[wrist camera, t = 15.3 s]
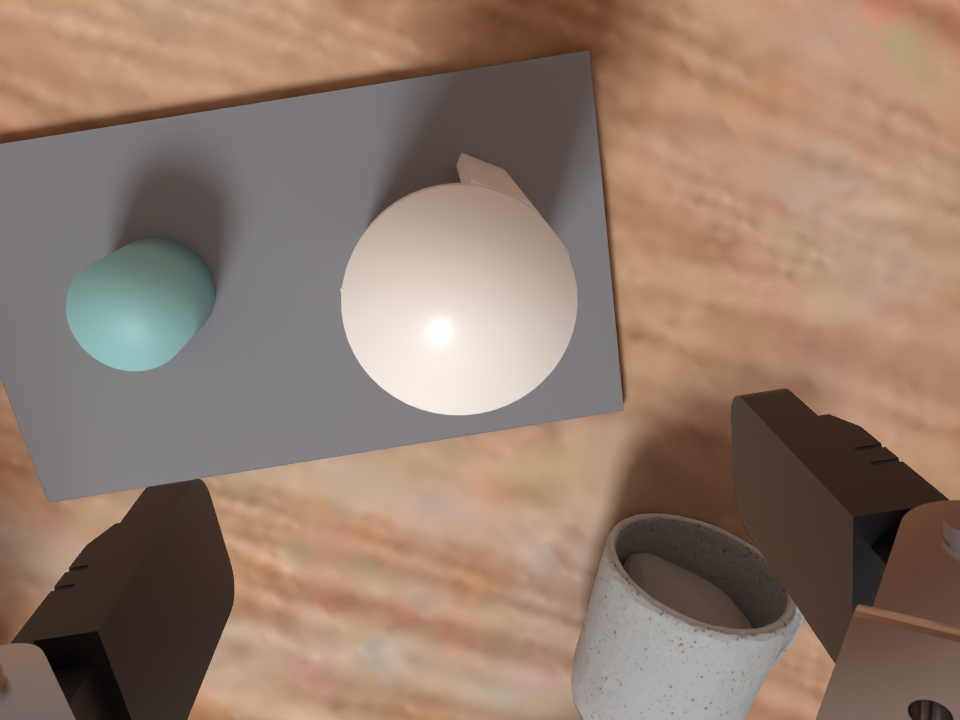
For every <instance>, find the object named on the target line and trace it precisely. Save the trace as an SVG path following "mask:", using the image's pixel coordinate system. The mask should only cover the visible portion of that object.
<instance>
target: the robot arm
mask: <svg viewBox="0 0 960 720" xmlns="http://www.w3.org/2000/svg"><path fill="white" fill-rule="evenodd" d="M731 421H732V442H733V463H734V484H735V496H736V502H737V507H738V511H739V514H740V517H741V520H742V523H743V525H744V527H745V530H746V531H747V533H748V534H749V536H750V537H751V539H752V540H753V542H754V543H755V545H756V546H757V548H758V549H759V551H760V552H761V554H762V555H763V557H764V558H765V560H766V561H767V563H768V564H769V566H770V567H771V569H772V570H773V572H774V573H775V575H776V576H777V578H778V579H779V581H780V582H781V584H782V585H783V586H784V588H785V589H786V591H787V592H788V594H789V595H790V597H791V598H792V600H793V601H794V603H795V604H796V606H797V607H798V609H799V610H800V612H801V613H802V615H803V616H804V618H805V619H806V621H807V622H808V624H809V625H810V627H811V628H812V630H813V631H814V633H815V634H816V636H817V637H818V639H819V640H820V642H821V643H822V645H823V646H824V647H825V649H826V650H827V652H828V653H829V655H830V656H831V658H832V659H833V661H834V662H835V667H834V670H833V672H832V675H831V678H830V681H829V684H828V686H827V689H826V692H825V695H824V698H823V700H822V703H821V706H820V709H819V712H818V714H817V717H816V720H960V500H949V499H948V498H946V497H945V496H944V495H943V494H941V493H940V492H939V491H938V490H937V489H935V488H934V487H933V486H932V485H931V484H929V483H928V482H927V481H926V480H925V479H923V478H922V477H921V476H920V475H918V474H917V473H916V472H915V471H914V470H912V469H911V468H910V467H909V466H908V465H906V464H905V463H904V462H899V459H898V457H897V456H896V455H894V454H893V453H892V452H891V451H889V450H888V449H887V448H886V447H883V448H882V446H881V443H880V442H879V441H877V440H876V439H875V438H874V437H873V436H871V435H870V434H869V433H868V432H867V431H865V430H864V429H863V428H862V427H860V426H858V425H855V424H853V423H850V422H847V421H845V420H842V419H840V418H837V417H835V416H832V415H830V414H827V415H821V416H818V415H816V414H815V413H814V412H813V411H812V410H811V409H810V408H809V407H807V406H806V405H805V404H804V403H803V402H802V401H801V400H800V399H799V398H797V397H796V396H795V395H794V394H793V393H792V392H791V391H789V390H788V389H779V390H772V391H766V392H759V393H753V394H747V395H740V396H736V397H734V399H733V402H732V407H731ZM54 588H55V591H52V592H50V593H49V594H48V596H47V597H46V598H45V599H44V601H43V602H42V603H41V605H40V606H39V607H38V608H37V610H36V611H35V612H34V614H33V615H32V616H31V617H30V619H29V620H28V621H27V623H26V624H25V625H24V627H23V628H22V629H21V630H20V632H19V633H18V634H17V636H16V637H15V638H14V639H13V641H12V642H11V643H10V644H7V645H1V646H0V720H187V719H188V716H189V714H190V711H191V709H192V706H193V704H194V701H195V699H196V696H197V694H198V691H199V689H200V686H201V684H202V681H203V679H204V677H205V674H206V672H207V669H208V667H209V664H210V662H211V659H212V657H213V654H214V652H215V649H216V647H217V644H218V642H219V639H220V637H221V635H222V632H223V630H224V627H225V625H226V622H227V620H228V617H229V615H230V612H231V609H232V606H233V601H234V577H233V571H232V566H231V563H230V559H229V556H228V553H227V549H226V546H225V543H224V539H223V536H222V533H221V529H220V526H219V523H218V520H217V516H216V513H215V510H214V506H213V503H212V500H211V496H210V493H209V491H208V489H207V487H206V485H205V484H204V482H203V481H202V480H200V479H194V480H187V481H181V482H174V483H168V484H161V485H155V486H149V487H147V488H146V489H145V490H144V491H143V493H142V494H141V495H140V497H139V498H138V499H137V501H136V502H135V503H134V505H133V506H132V508H131V509H130V510H129V512H128V513H127V514H126V516H125V517H124V518H123V520H122V521H121V522H120V523H117V524H114V525H113V526H112V527H110V528H109V529H108V530H106V531H105V532H104V533H102V534H101V535H100V536H98V537H97V538H96V539H94V540H93V541H92V542H90V543H89V544H88V545H86V546H85V548H84V549H83V550H82V552H81V553H80V554H79V556H78V557H77V558H76V559H75V561H74V562H73V563H72V565H71V566H70V567H69V572H65V574H64V575H63V576H62V577H61V579H60V580H59V581H58V583H57V584H56V585H55V586H54Z"/></svg>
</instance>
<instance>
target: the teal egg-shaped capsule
mask: <svg viewBox="0 0 960 720" xmlns="http://www.w3.org/2000/svg"><path fill="white" fill-rule="evenodd" d="M214 303H215V285H214V281H213V278H212V275H211V273H210V271H209V269H208V267H207V266H206V264H205V263H204V261H203V260H202V259H201V258H200V257H199V256H198V255H197V254H196V253H195V252H194V251H193V250H191V249H190V248H189V247H187V246H185V245H184V244H182V243H179V242H177V241H175V240H171V239H168V238H162V237H147V238H142V239H138V240H136V241H133V242H131V243H129V244H127V245H125V246H124V247H122V248H120V249H118V250H116V251H114V252H113V253H111V254H109V255H107V256H105V257H103V258H101V259H100V260H98V261H96V262H94V263H92V264H91V265H89V266H87V267H86V268H85V269H83V270H82V271H81V272H80V273H79V274H78V275H77V276H76V278H75V279H74V280H73V282H72V284H71V286H70V288H69V291H68V294H67V299H66V315H67V320H68V324H69V327H70V329H71V331H72V333H73V335H74V337H75V339H76V340H77V341H78V343H79V344H80V346H81V347H82V348H83V349H84V350H85V351H86V352H87V353H88V354H90V355H91V356H92V357H93V358H95V359H96V360H98V361H99V362H101V363H103V364H105V365H107V366H110V367H112V368H116V369H119V370H124V371H146V370H150V369H154V368H157V367H159V366H161V365H163V364H165V363H167V362H168V361H169V360H171V359H172V358H173V357H174V356H175V355H176V354H177V353H178V352H179V351H180V350H181V349H182V348H183V347H184V346H185V344H186V343H187V342H188V341H189V340H190V339H191V338H192V337H193V336H194V335H195V334H196V333H197V332H198V330H199V329H200V328H201V327H202V326H203V325H204V324H205V323H206V321H207V320H208V319H209V317H210V315H211V313H212V310H213V308H214Z"/></svg>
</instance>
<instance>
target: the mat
mask: <svg viewBox="0 0 960 720" xmlns="http://www.w3.org/2000/svg"><path fill="white" fill-rule="evenodd" d="M461 153H464V154H466V155H469V156H472V157H474V158H477V159H479V160H482V161H484V162H487V163H490V164H492V165H495V166H497V167H500V168H502V169H505V171H506V172H507V173H508V174H509V176H510V177H511V178H512V179H513V181H514V182H515V183H516V184H517V186H518V187H519V188H520V189H521V191H522V192H523V193H524V194H525V196H526V197H527V198H528V199H529V201H530V202H531V203H532V204H533V206H534V207H535V208H536V210H537V211H538V212H539V213H540V215H541V216H542V217H543V219H544V220H545V221H546V222H547V224H548V225H549V226H550V227H551V229H552V230H553V231H554V233H555V234H556V235H557V236H558V238H559V239H560V240H561V242H562V243H563V244H564V245H565V247H566V248H567V249H568V252H569V259H570V262H571V265H572V268H573V271H574V275H575V280H576V285H577V300H578V303H577V315H576V321H575V325H574V330H573V333H572V336H571V339H570V341H569V344H568V346H567V348H566V350H565V352H564V354H563V356H562V358H561V359H560V361H559V362H558V364H557V365H556V367H555V368H554V370H553V371H552V372H551V373H550V374H549V375H548V376H547V377H546V379H545V380H544V381H543V382H542V383H540V384H539V385H538V386H537V387H536V388H535V389H534V390H532V391H531V392H529V393H528V394H526V395H525V396H523V397H522V398H520V399H519V400H517V401H515V402H513V403H511V404H509V405H507V406H504V407H501V408H498V409H496V410H493V411H488V412H484V413H480V414H472V415H445V414H438V413H432V412H429V411H425V410H421V409H418V408H416V407H413V406H411V405H408V404H406V403H404V402H402V401H401V400H399V399H397V398H395V397H393V396H392V395H391V394H389V393H388V392H387V391H385V390H384V389H382V388H381V387H380V386H379V385H378V384H377V383H376V382H375V381H374V380H373V379H372V378H371V377H370V376H369V375H368V374H367V372H366V371H365V370H364V369H363V367H362V366H361V364H360V363H359V361H358V360H357V358H356V356H355V355H354V353H353V351H352V348H351V346H350V344H349V342H348V339H347V336H346V332H345V329H344V325H343V319H342V312H341V290H340V288H341V286H342V284H343V279H344V275H345V271H346V268H347V265H348V262H349V260H350V258H351V255H352V253H353V250H354V248H355V246H356V244H357V243H358V241H359V239H360V238H361V236H362V234H363V233H364V231H365V230H366V229H367V228H368V226H369V225H370V224H371V222H372V221H373V220H374V219H375V218H376V217H377V216H378V215H379V214H380V213H381V212H382V211H383V210H385V209H386V208H388V207H389V206H390V205H392V204H393V203H394V202H396V201H397V200H399V199H401V198H403V197H405V196H407V195H408V194H410V193H413V192H416V191H418V190H421V189H423V188H427V187H431V186H436V185H440V184H450V183H461V181H460V177H459V174H458V170H457V166H456V165H457V162H458V160H459V157H460V154H461ZM147 237H162V238H168V239H171V240H175V241H177V242H179V243H182V244H184V245H185V246H187V247H189V248H190V249H191V250H193V251H194V252H195V253H196V254H197V255H198V256H199V257H200V258H201V259H202V260H203V261H204V263H205V264H206V266H207V267H208V269H209V271H210V273H211V275H212V278H213V281H214V285H215V303H214V308H213V310H212V313H211V315H210V317H209V319H208V320H207V321H206V323H205V324H204V325H203V326H202V327H201V328H200V329H199V330H198V332H197V333H196V334H195V335H194V336H193V337H192V338H191V339H190V340H189V341H188V342H187V343H186V344H185V346H184V347H183V348H182V349H181V350H180V351H179V352H178V353H177V354H176V355H175V356H174V357H173V358H172V359H171V360H169V361H168V362H167V363H165V364H163V365H161V366H159V367H157V368H154V369H150V370H146V371H124V370H119V369H116V368H112V367H110V366H107V365H105V364H103V363H101V362H99V361H98V360H96V359H95V358H93V357H92V356H91V355H90V354H88V353H87V352H86V351H85V350H84V349H83V348H82V347H81V346H80V344H79V343H78V341H77V340H76V339H75V337H74V335H73V333H72V331H71V329H70V327H69V324H68V320H67V315H66V299H67V294H68V291H69V288H70V286H71V284H72V282H73V280H74V279H75V278H76V276H77V275H78V274H79V273H80V272H81V271H82V270H83V269H85V268H86V267H87V266H89V265H91V264H92V263H94V262H96V261H98V260H100V259H101V258H103V257H105V256H107V255H109V254H111V253H113V252H114V251H116V250H118V249H120V248H122V247H124V246H125V245H127V244H129V243H131V242H133V241H136V240H138V239H142V238H147ZM0 378H1V380H2V383H3V386H4V388H5V391H6V393H7V396H8V399H9V401H10V404H11V406H12V409H13V412H14V414H15V417H16V419H17V422H18V425H19V427H20V430H21V432H22V435H23V438H24V440H25V443H26V445H27V448H28V451H29V453H30V456H31V458H32V461H33V464H34V466H35V469H36V471H37V474H38V477H39V479H40V482H41V484H42V487H43V490H44V492H45V495H46V497H47V500H48V503H51V502H57V501H63V500H70V499H76V498H82V497H88V496H94V495H101V494H107V493H113V492H119V491H126V490H132V489H138V488H144V487H149V486H155V485H161V484H168V483H174V482H181V481H187V480H194V479H200V478H206V477H213V476H219V475H225V474H231V473H238V472H244V471H250V470H256V469H262V468H269V467H275V466H281V465H287V464H294V463H300V462H306V461H312V460H318V459H325V458H331V457H337V456H343V455H350V454H356V453H362V452H368V451H374V450H381V449H387V448H393V447H399V446H406V445H412V444H418V443H424V442H430V441H437V440H443V439H449V438H455V437H462V436H468V435H474V434H480V433H486V432H493V431H499V430H505V429H511V428H518V427H524V426H530V425H536V424H542V423H549V422H555V421H561V420H567V419H574V418H580V417H586V416H592V415H598V414H605V413H611V412H617V411H623V410H624V407H623V397H622V386H621V376H620V365H619V355H618V344H617V334H616V323H615V313H614V302H613V291H612V281H611V270H610V260H609V249H608V239H607V228H606V218H605V207H604V197H603V186H602V176H601V165H600V155H599V144H598V134H597V123H596V113H595V102H594V92H593V81H592V71H591V60H590V50H587V51H581V52H574V53H568V54H562V55H555V56H549V57H543V58H537V59H530V60H524V61H518V62H512V63H505V64H499V65H493V66H486V67H480V68H474V69H468V70H461V71H455V72H449V73H442V74H436V75H430V76H424V77H417V78H411V79H405V80H399V81H392V82H386V83H380V84H373V85H367V86H361V87H355V88H348V89H342V90H336V91H330V92H323V93H317V94H311V95H304V96H298V97H292V98H286V99H279V100H273V101H267V102H261V103H254V104H248V105H242V106H235V107H229V108H223V109H217V110H210V111H204V112H198V113H191V114H185V115H179V116H173V117H166V118H160V119H154V120H148V121H141V122H135V123H129V124H122V125H116V126H110V127H104V128H97V129H91V130H85V131H79V132H72V133H66V134H60V135H53V136H47V137H41V138H35V139H28V140H22V141H16V142H9V143H3V144H0Z"/></svg>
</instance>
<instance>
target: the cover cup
mask: <svg viewBox="0 0 960 720" xmlns="http://www.w3.org/2000/svg"><path fill="white" fill-rule="evenodd" d="M456 166H457V170H458V174H459V177H460V181H461V183H450V184H440V185H436V186H431V187H427V188H423V189H421V190H418V191H416V192H413V193H410V194H408V195H407V196H405V197H403V198H401V199H399V200H397V201H396V202H394V203H393V204H392V205H390V206H389V207H388V208H386V209H385V210H383V211H382V212H381V213H380V214H379V215H378V216H377V217H376V218H375V219H374V220H373V221H372V222H371V224H370V225H369V226H368V228H367V229H366V230H365V231H364V233H363V234H362V236H361V238H360V239H359V241H358V243H357V244H356V246H355V248H354V250H353V253H352V255H351V258H350V260H349V262H348V265H347V268H346V271H345V275H344V279H343V284H342V286H341V288H340V290H341V312H342V319H343V325H344V329H345V332H346V336H347V339H348V342H349V344H350V346H351V348H352V351H353V353H354V355H355V356H356V358H357V360H358V361H359V363H360V364H361V366H362V367H363V369H364V370H365V371H366V372H367V374H368V375H369V376H370V377H371V378H372V379H373V380H374V381H375V382H376V383H377V384H378V385H379V386H380V387H381V388H382V389H384V390H385V391H387V392H388V393H389V394H391V395H392V396H393V397H395V398H397V399H399V400H401V401H402V402H404V403H406V404H408V405H411V406H413V407H416V408H418V409H421V410H425V411H429V412H432V413H438V414H445V415H472V414H480V413H484V412H488V411H493V410H496V409H498V408H501V407H504V406H507V405H509V404H511V403H513V402H515V401H517V400H519V399H520V398H522V397H523V396H525V395H526V394H528V393H529V392H531V391H532V390H534V389H535V388H536V387H537V386H538V385H539V384H540V383H542V382H543V381H544V380H545V379H546V377H547V376H548V375H549V374H550V373H551V372H552V371H553V370H554V368H555V367H556V365H557V364H558V362H559V361H560V359H561V358H562V356H563V354H564V352H565V350H566V348H567V346H568V344H569V341H570V339H571V336H572V333H573V330H574V325H575V321H576V315H577V303H578V300H577V285H576V280H575V275H574V271H573V268H572V265H571V262H570V259H569V252H568V249H567V248H566V247H565V245H564V244H563V243H562V242H561V240H560V239H559V238H558V236H557V235H556V234H555V233H554V231H553V230H552V229H551V227H550V226H549V225H548V224H547V222H546V221H545V220H544V219H543V217H542V216H541V215H540V213H539V212H538V211H537V210H536V208H535V207H534V206H533V204H532V203H531V202H530V201H529V199H528V198H527V197H526V196H525V194H524V193H523V192H522V191H521V189H520V188H519V187H518V186H517V184H516V183H515V182H514V181H513V179H512V178H511V177H510V176H509V174H508V173H507V172H506V171H505V169H502V168H500V167H497V166H495V165H492V164H490V163H487V162H484V161H482V160H479V159H477V158H474V157H472V156H469V155H466V154H464V153H461V154H460V157H459V160H458V162H457V165H456Z"/></svg>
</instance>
